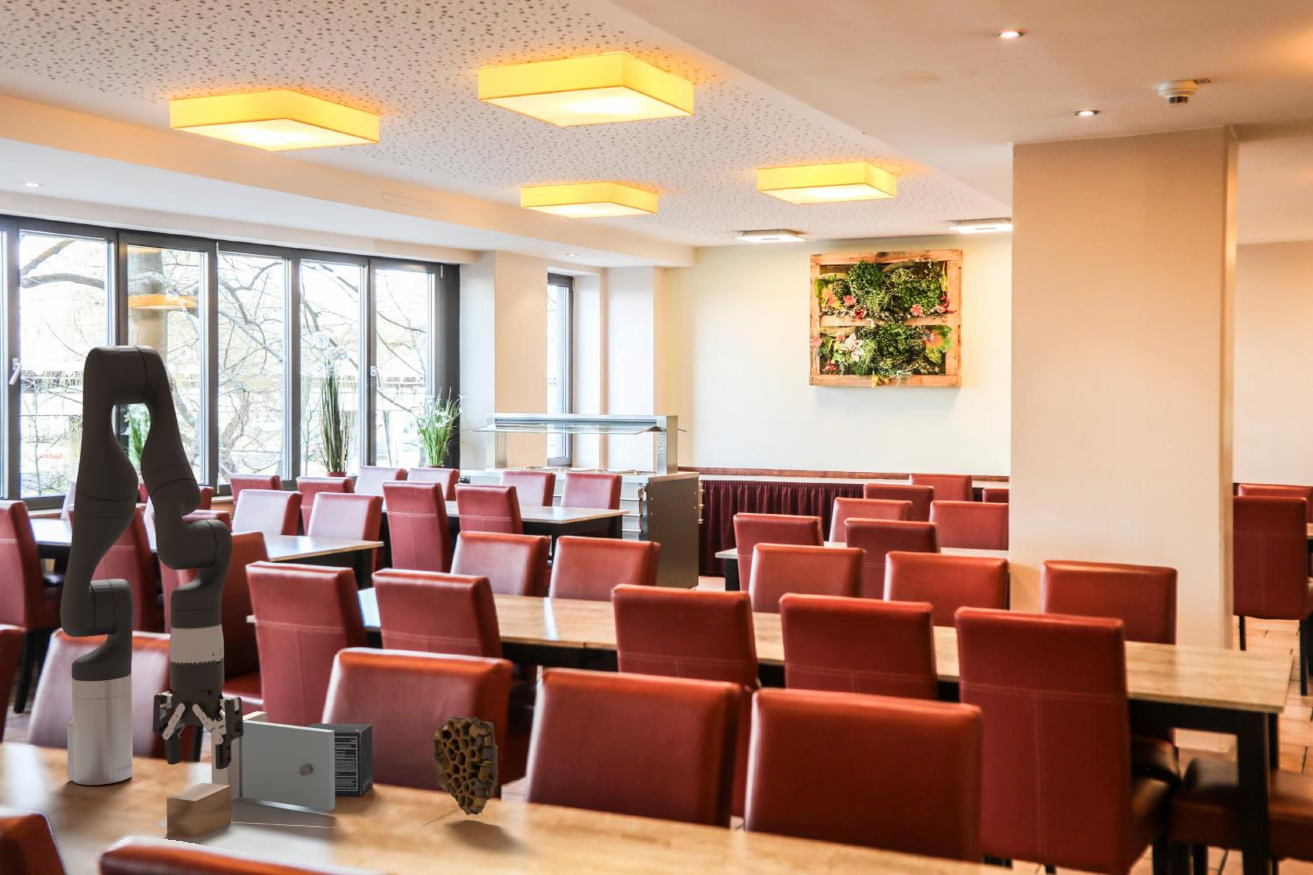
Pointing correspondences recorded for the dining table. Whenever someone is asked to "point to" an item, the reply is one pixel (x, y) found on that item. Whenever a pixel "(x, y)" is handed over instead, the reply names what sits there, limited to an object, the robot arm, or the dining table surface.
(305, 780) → the door
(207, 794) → the block
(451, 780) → the brown wasp nest
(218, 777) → the door frame
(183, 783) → the dining table surface
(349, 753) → the small box
